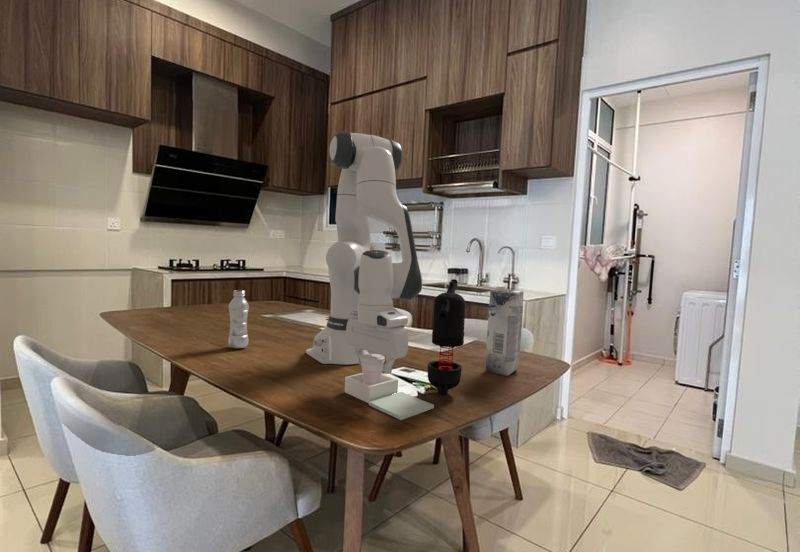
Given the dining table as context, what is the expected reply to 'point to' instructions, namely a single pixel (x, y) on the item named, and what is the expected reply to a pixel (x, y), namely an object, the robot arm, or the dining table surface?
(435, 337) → the filter
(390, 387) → the shallow white tray
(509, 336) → the juice carton
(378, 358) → the smoothie
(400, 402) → the coaster
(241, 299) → the plastic bottle
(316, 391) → the dining table surface
